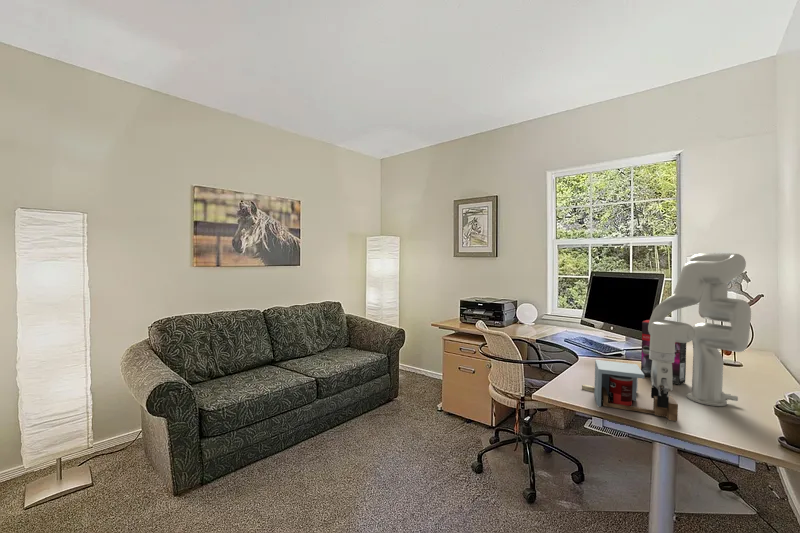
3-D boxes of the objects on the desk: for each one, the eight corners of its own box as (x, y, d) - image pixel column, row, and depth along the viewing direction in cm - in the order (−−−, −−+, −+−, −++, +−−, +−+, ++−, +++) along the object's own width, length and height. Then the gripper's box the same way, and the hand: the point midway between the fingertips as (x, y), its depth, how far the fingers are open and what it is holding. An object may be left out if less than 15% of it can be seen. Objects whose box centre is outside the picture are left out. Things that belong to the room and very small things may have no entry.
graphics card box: (639, 375, 184) (641, 320, 183) (646, 373, 188) (648, 319, 187) (679, 385, 170) (681, 326, 169) (686, 383, 173) (688, 325, 173)
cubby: (635, 399, 151) (637, 364, 151) (643, 413, 137) (644, 374, 137) (594, 393, 157) (595, 359, 157) (597, 406, 144) (598, 369, 143)
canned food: (610, 398, 152) (611, 371, 152) (633, 403, 147) (634, 376, 147) (606, 404, 146) (607, 376, 146) (630, 409, 141) (631, 380, 141)
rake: (666, 406, 144) (667, 391, 144) (677, 421, 131) (677, 404, 131) (600, 396, 154) (601, 382, 153) (604, 409, 140) (604, 393, 140)
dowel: (613, 395, 157) (614, 390, 156) (612, 396, 155) (613, 392, 155) (583, 388, 164) (583, 384, 164) (581, 389, 163) (582, 385, 163)
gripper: (681, 363, 127) (678, 413, 127) (667, 352, 143) (665, 397, 143) (654, 360, 130) (652, 408, 130) (644, 350, 146) (642, 393, 146)
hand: (659, 402), depth 136 cm, fingers open, 9 cm apart
